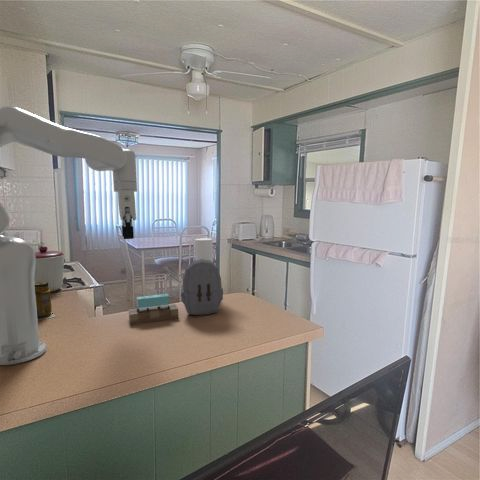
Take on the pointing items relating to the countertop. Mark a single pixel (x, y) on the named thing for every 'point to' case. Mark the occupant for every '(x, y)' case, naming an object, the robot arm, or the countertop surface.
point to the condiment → (43, 301)
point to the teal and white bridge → (153, 302)
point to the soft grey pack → (202, 288)
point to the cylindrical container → (204, 249)
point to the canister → (49, 268)
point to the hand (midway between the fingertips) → (127, 237)
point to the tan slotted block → (153, 314)
